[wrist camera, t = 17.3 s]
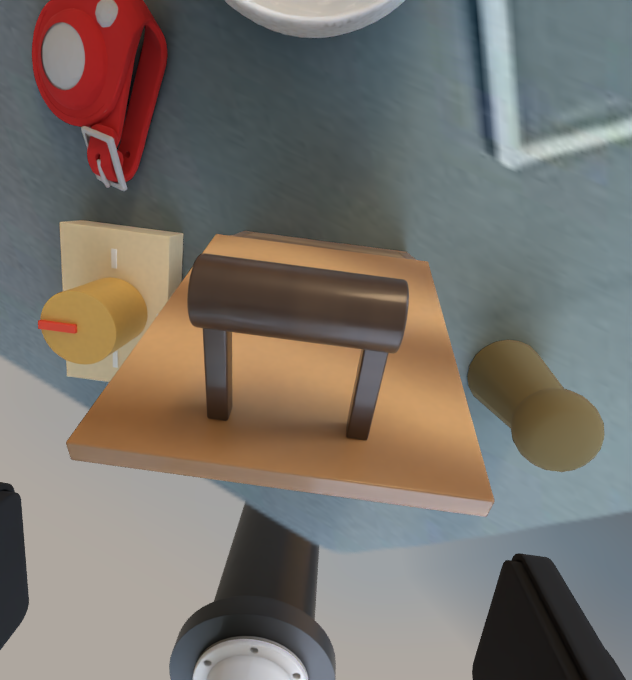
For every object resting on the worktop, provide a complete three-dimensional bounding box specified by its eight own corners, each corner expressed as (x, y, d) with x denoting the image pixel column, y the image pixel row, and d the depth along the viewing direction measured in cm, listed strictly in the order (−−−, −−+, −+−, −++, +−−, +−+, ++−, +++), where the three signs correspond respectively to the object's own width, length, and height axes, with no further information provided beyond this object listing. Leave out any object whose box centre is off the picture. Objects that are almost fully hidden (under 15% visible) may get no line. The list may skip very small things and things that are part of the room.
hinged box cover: (486, 518, 13) (578, 347, 10) (70, 460, 14) (10, 272, 10) (425, 273, 27) (454, 163, 23) (216, 246, 27) (213, 133, 23)
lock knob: (148, 282, 33) (113, 296, 28) (147, 346, 35) (114, 371, 30) (81, 273, 33) (34, 286, 28) (83, 337, 35) (39, 361, 30)
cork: (546, 337, 36) (630, 395, 25) (539, 406, 38) (616, 487, 27) (468, 341, 36) (520, 399, 26) (466, 409, 38) (513, 489, 28)
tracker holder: (-5, 51, 31) (71, -78, 26) (53, 71, 35) (128, -38, 30) (88, 202, 31) (181, 98, 26) (136, 205, 35) (223, 115, 30)
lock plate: (185, 376, 39) (172, 391, 36) (79, 362, 39) (58, 376, 36) (191, 234, 35) (177, 237, 32) (74, 219, 35) (49, 220, 32)
